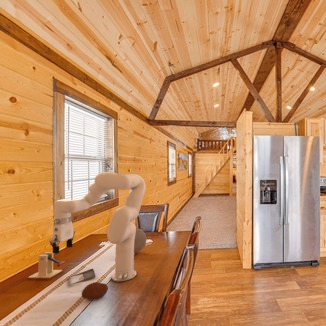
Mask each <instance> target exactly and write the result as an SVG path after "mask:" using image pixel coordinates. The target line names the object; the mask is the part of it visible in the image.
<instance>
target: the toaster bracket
mask: <svg viewBox="0 0 326 326" xmlns="http://www.w3.org/2000/svg"><path fill="white" fill-rule="evenodd" d="M44 254H49V255H51V256H50V257H51V258H53V259H54V256H55V255H54V254H53V251H52V252H51V251H48V252H47V251H45V252H44ZM44 254H39V255H38V262H37V264H38V267H37V272H34V273H33V274H31V275H29V276H28V277H27V279H50V278H52V277H54V276H56V275H58V274H59V273H61V272H63V269H54V262H53V261H51V260H48V255H44Z"/></svg>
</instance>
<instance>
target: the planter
mask: <svg viewBox="0 0 326 326" xmlns="http://www.w3.org/2000/svg"><path fill="white" fill-rule="evenodd" d="M147 241H148V240H147V235H146V233H145V231H144V230H143V229H141V228H138V227H136V234H135V240H134V254H138V253H139V252H141V251H142V250H143V249H144V248H145V247H146V245H147Z"/></svg>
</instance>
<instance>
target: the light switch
mask: <svg viewBox="0 0 326 326" xmlns="http://www.w3.org/2000/svg"><path fill="white" fill-rule="evenodd" d="M80 275H82V276H80ZM77 276H79V277H78V279H79V280H78V281H76V282H73V283H72V285H75V284H79V283H82V282H86V281H88V280H90V279H93V278H96V273H95V270H94V268H89V269H87V270H84V271H81V272H79V273H77V274H74V275H71V276H70V278H72V277H77Z"/></svg>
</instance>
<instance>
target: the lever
mask: <svg viewBox="0 0 326 326" xmlns="http://www.w3.org/2000/svg"><path fill="white" fill-rule="evenodd" d="M43 255H48V260H51V261H53V263H55V264H57V265H56V266H57V267H61V266H63V265H65V264H66V263H67V260H63V261H61V260H58V259H55V258H54V257H53V258H51V257H50V256H51V255H49V254H45V253H44V254H43Z"/></svg>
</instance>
